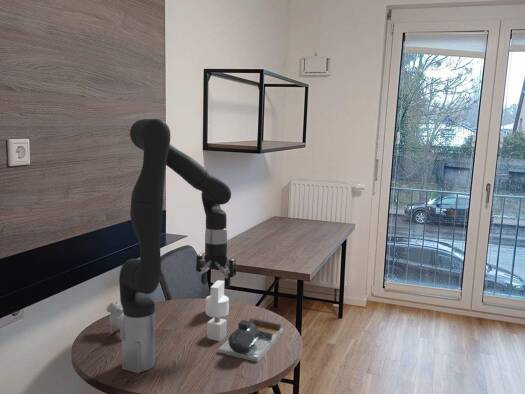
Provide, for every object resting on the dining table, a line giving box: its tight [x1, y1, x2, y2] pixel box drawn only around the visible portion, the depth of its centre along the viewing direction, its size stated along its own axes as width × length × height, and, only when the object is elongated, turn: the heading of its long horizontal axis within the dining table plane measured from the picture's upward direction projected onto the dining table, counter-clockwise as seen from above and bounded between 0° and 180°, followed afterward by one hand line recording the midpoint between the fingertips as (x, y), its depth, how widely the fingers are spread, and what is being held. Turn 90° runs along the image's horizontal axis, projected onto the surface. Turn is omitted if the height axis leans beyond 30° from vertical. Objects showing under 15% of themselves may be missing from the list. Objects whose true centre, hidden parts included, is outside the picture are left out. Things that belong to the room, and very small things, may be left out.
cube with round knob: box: [206, 316, 228, 342], centre depth 168 cm, size 5×5×8 cm
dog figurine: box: [106, 301, 124, 341], centre depth 168 cm, size 5×13×11 cm, turn 48°
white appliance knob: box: [205, 279, 230, 318], centre depth 188 cm, size 9×9×12 cm
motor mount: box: [218, 317, 285, 363], centre depth 164 cm, size 24×14×10 cm, turn 157°
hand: (215, 285), depth 165 cm, fingers open, 8 cm apart
